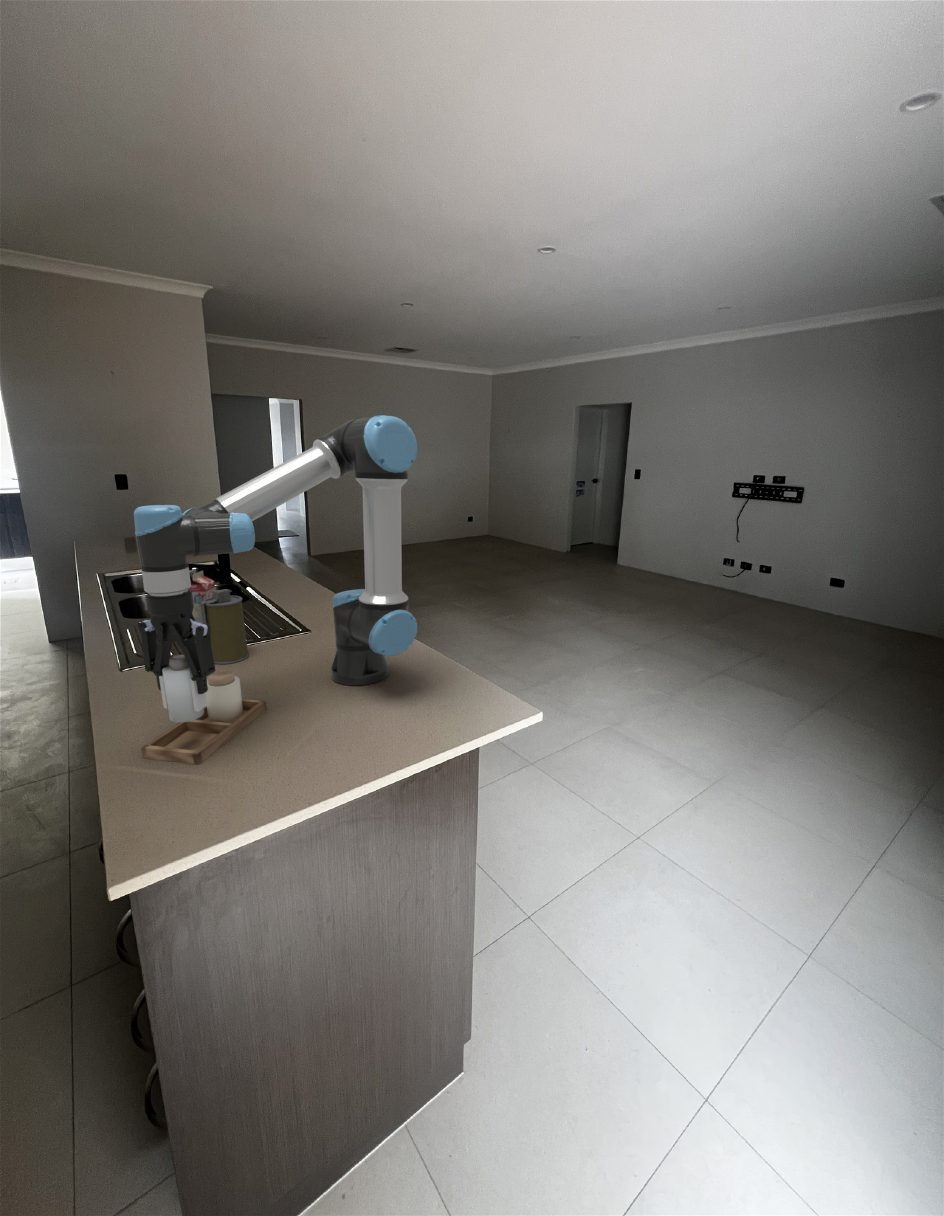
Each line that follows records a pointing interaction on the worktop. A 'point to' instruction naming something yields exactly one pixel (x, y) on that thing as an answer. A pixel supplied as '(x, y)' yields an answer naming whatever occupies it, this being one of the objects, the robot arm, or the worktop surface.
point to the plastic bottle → (179, 690)
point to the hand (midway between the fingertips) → (185, 706)
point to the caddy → (200, 736)
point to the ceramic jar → (224, 697)
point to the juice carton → (200, 593)
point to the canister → (225, 626)
